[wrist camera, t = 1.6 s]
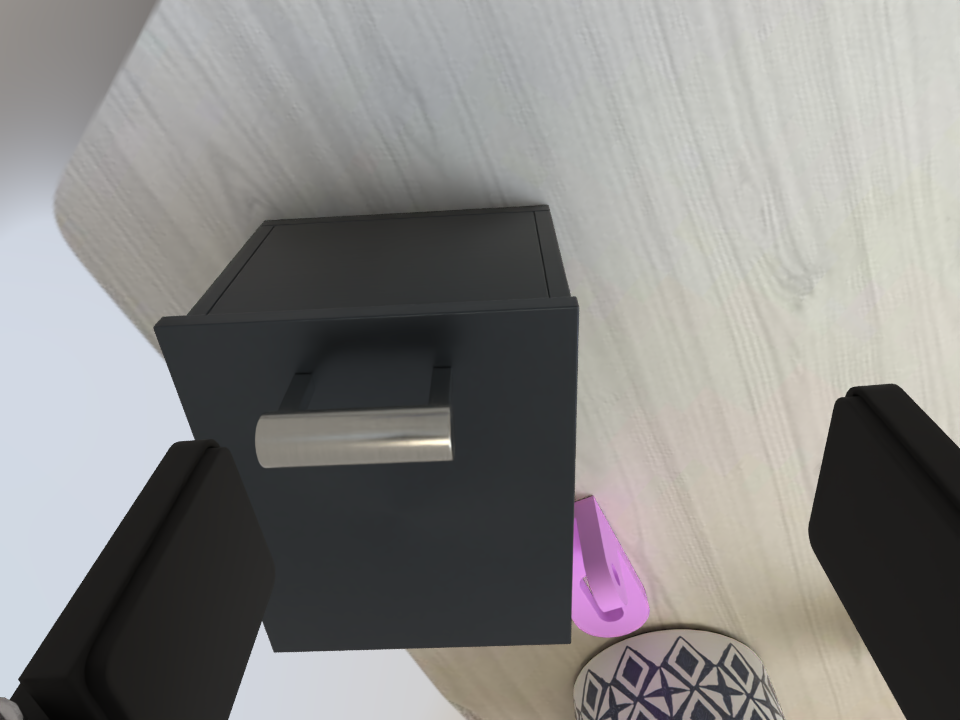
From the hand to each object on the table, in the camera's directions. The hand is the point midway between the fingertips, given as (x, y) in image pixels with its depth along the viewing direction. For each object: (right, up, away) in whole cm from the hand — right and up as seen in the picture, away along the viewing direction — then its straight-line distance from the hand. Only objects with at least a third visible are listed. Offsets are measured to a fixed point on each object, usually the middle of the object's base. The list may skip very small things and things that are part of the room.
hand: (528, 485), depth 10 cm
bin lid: (-4, -4, +17) cm, 18 cm away
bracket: (+7, -13, +37) cm, 40 cm away
